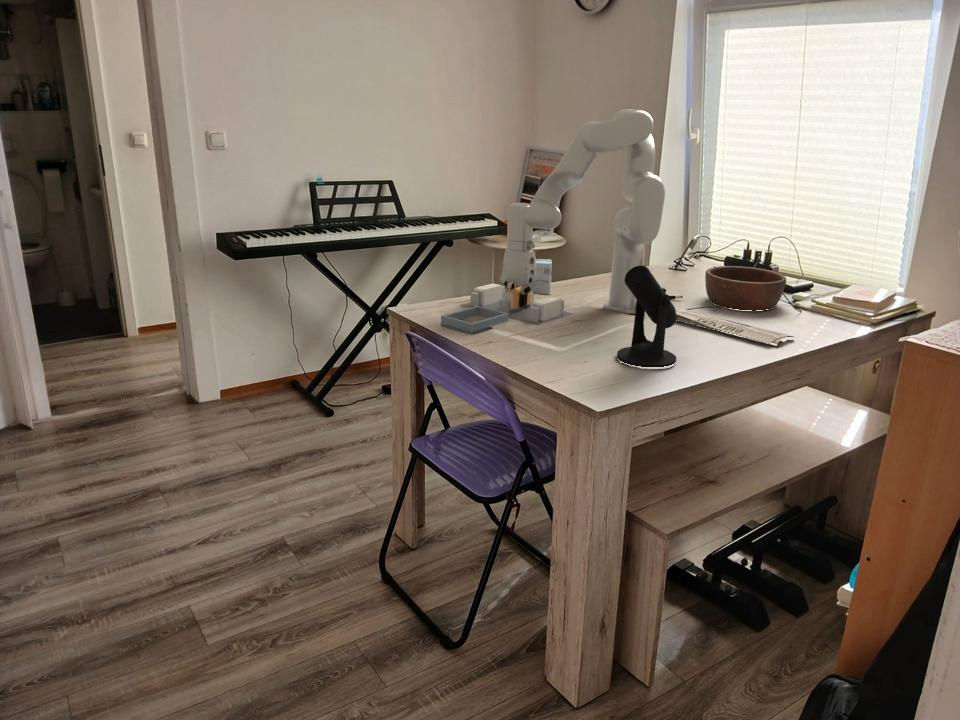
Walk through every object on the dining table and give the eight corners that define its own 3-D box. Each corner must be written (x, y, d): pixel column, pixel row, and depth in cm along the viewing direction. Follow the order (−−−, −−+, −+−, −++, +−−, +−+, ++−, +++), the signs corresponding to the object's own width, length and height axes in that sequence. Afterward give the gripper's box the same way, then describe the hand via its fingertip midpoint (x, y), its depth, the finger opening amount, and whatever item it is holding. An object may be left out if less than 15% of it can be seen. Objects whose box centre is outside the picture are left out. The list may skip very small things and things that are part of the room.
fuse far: (502, 300, 245) (502, 285, 243) (481, 306, 238) (482, 290, 236) (493, 298, 247) (494, 283, 246) (473, 303, 240) (473, 288, 238)
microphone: (600, 357, 198) (608, 261, 189) (647, 347, 207) (657, 255, 199) (643, 375, 186) (653, 273, 178) (690, 362, 196) (702, 266, 187)
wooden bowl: (749, 293, 268) (753, 264, 264) (798, 312, 245) (804, 280, 242) (687, 297, 260) (690, 267, 257) (732, 317, 238) (736, 284, 234)
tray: (508, 323, 224) (509, 313, 223) (472, 335, 213) (472, 324, 212) (477, 315, 232) (478, 305, 231) (440, 325, 220) (441, 315, 219)
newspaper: (793, 342, 217) (795, 330, 215) (772, 351, 208) (774, 338, 207) (684, 315, 240) (685, 304, 239) (661, 322, 232) (662, 310, 231)
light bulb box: (550, 290, 264) (552, 259, 260) (550, 295, 258) (552, 263, 254) (519, 288, 265) (520, 257, 261) (518, 293, 258) (519, 261, 255)
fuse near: (561, 314, 231) (562, 298, 229) (541, 321, 224) (542, 304, 222) (551, 312, 233) (552, 296, 232) (531, 318, 226) (532, 302, 224)
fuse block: (573, 316, 233) (574, 300, 231) (537, 328, 220) (538, 311, 219) (497, 298, 252) (498, 283, 250) (460, 308, 239) (460, 292, 237)
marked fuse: (532, 303, 238) (532, 287, 236) (511, 310, 231) (512, 293, 229) (523, 301, 240) (523, 285, 238) (502, 307, 233) (503, 291, 231)
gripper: (549, 247, 227) (546, 307, 233) (506, 240, 237) (504, 298, 243) (534, 251, 221) (531, 312, 227) (490, 243, 232) (488, 302, 238)
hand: (517, 304), depth 235 cm, fingers closed on marked fuse, 3 cm apart
